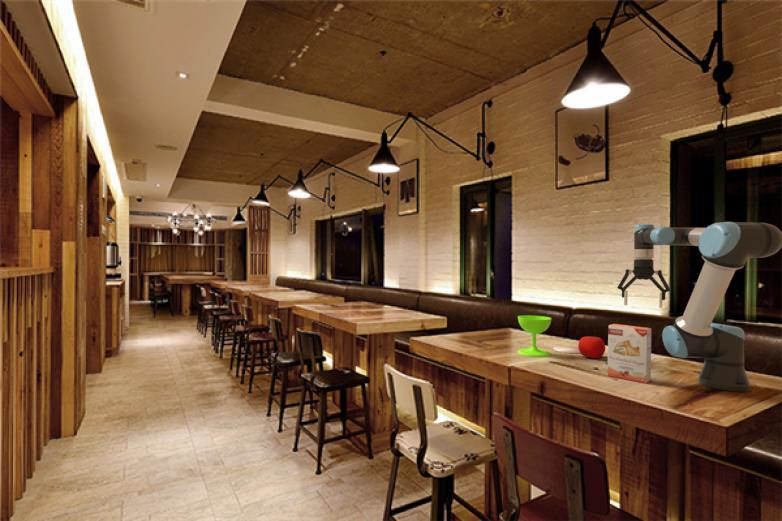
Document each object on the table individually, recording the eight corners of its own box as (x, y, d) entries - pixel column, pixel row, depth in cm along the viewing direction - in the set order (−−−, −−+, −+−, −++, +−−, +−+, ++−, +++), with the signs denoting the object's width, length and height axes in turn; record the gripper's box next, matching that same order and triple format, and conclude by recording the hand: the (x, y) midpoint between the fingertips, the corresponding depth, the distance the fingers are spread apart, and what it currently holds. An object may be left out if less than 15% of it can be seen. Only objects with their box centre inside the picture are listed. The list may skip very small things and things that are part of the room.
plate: (581, 355, 203) (581, 353, 203) (548, 350, 213) (548, 348, 213) (590, 350, 215) (590, 348, 215) (558, 345, 225) (558, 344, 225)
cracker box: (607, 376, 166) (607, 324, 166) (612, 373, 170) (613, 323, 170) (646, 384, 156) (647, 329, 156) (651, 381, 160) (651, 327, 160)
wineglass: (556, 353, 206) (556, 317, 206) (542, 358, 195) (543, 320, 195) (525, 348, 217) (526, 314, 217) (511, 353, 206) (512, 317, 206)
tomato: (609, 357, 198) (609, 336, 198) (597, 361, 191) (598, 339, 191) (585, 353, 207) (586, 332, 207) (574, 357, 199) (574, 335, 199)
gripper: (678, 259, 179) (677, 307, 179) (614, 258, 195) (614, 303, 195) (676, 259, 173) (675, 309, 174) (610, 258, 190) (610, 304, 190)
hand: (642, 306), depth 184 cm, fingers open, 13 cm apart
